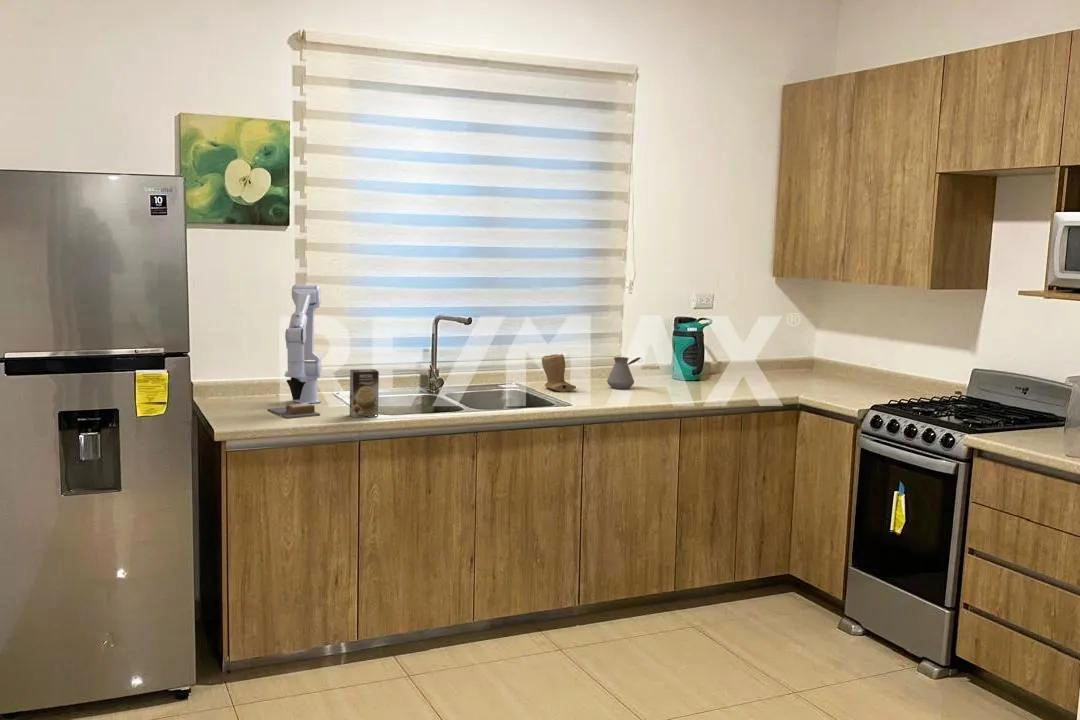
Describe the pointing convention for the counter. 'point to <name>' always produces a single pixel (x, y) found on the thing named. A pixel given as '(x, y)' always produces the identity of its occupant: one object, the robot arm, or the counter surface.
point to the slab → (300, 408)
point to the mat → (287, 415)
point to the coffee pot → (621, 374)
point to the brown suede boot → (556, 373)
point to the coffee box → (364, 392)
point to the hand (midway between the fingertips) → (296, 399)
